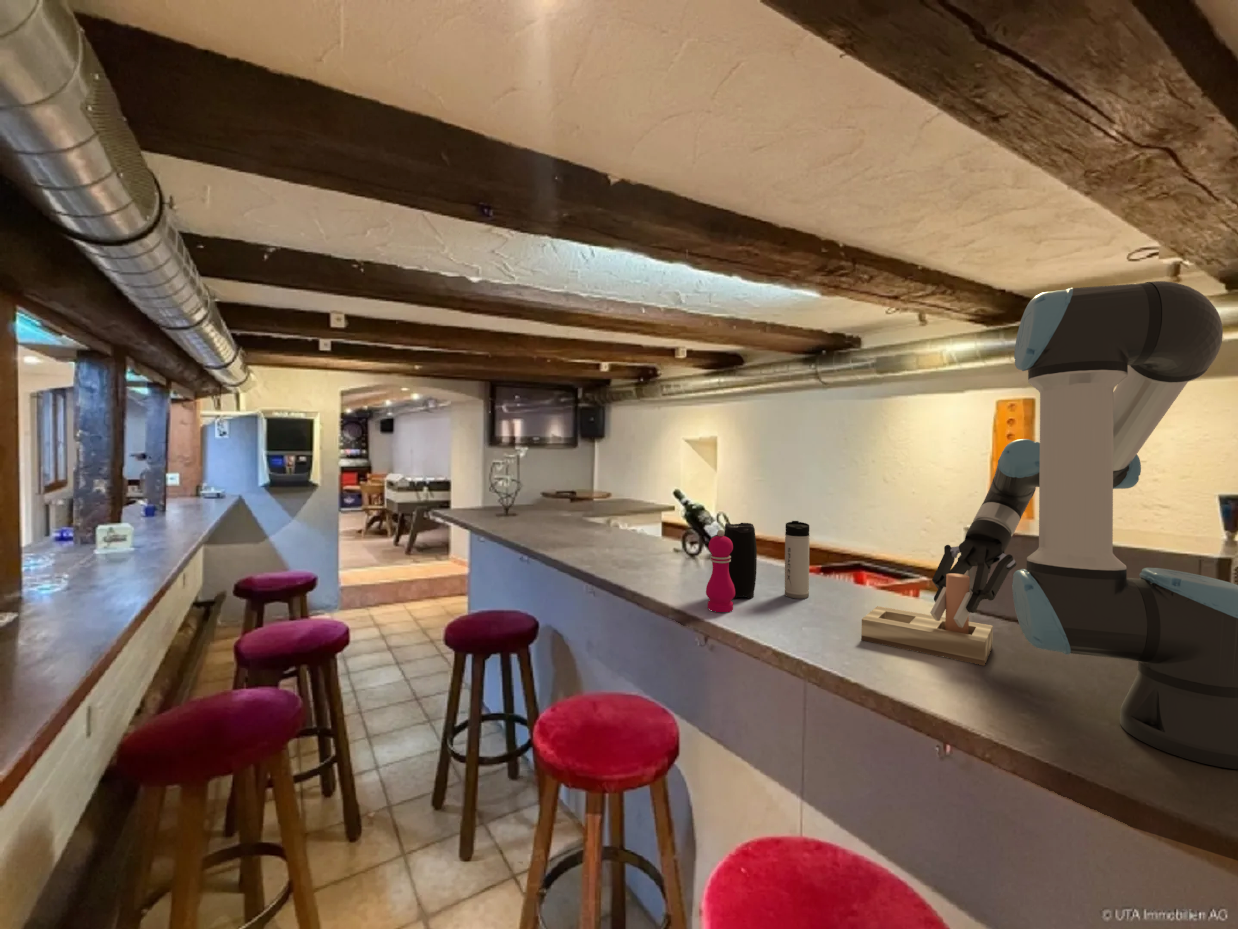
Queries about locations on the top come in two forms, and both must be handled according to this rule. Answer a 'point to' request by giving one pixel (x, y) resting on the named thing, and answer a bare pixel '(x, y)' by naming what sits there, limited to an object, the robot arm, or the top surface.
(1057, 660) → the top surface
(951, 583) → the pin
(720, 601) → the pepper mill
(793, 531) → the travel mug
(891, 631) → the socket block
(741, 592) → the portable speaker
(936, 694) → the top surface
